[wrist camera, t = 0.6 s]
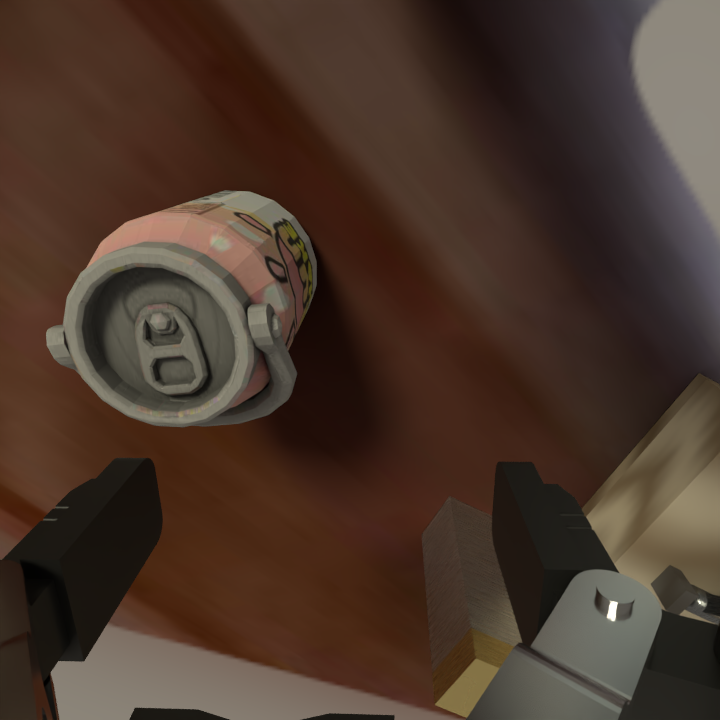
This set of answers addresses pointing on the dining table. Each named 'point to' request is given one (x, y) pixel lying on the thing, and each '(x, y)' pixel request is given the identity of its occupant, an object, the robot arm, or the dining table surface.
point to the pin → (465, 606)
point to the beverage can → (192, 312)
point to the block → (668, 503)
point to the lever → (705, 605)
